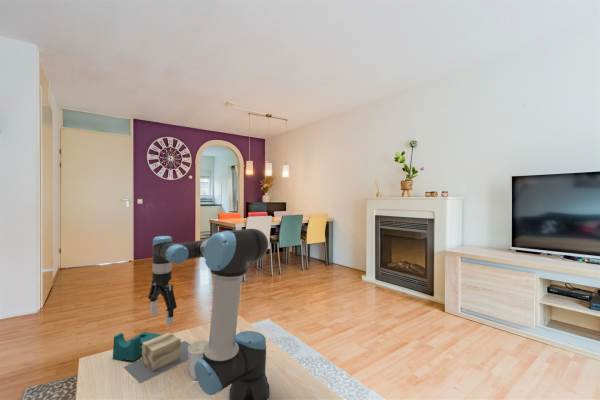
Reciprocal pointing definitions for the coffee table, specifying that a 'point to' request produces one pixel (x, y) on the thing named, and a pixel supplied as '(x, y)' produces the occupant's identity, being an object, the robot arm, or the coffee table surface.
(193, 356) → the candle holder
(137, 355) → the teal l-shaped bracket
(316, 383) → the coffee table surface
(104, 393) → the coffee table surface
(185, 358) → the board
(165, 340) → the block
